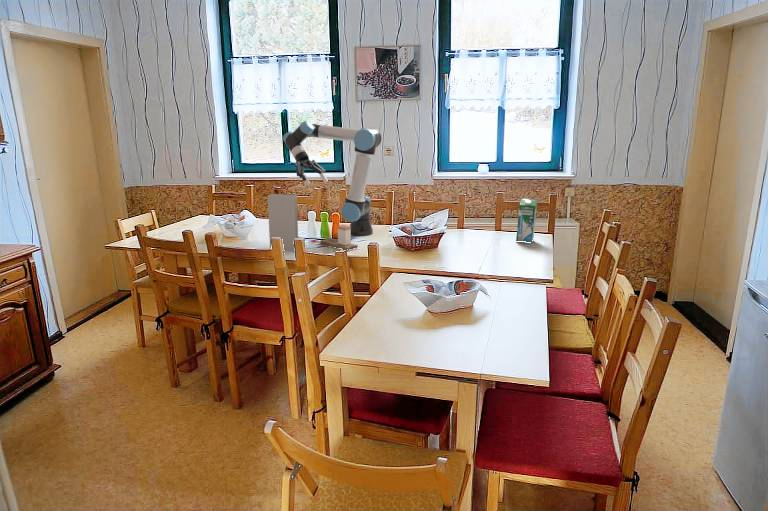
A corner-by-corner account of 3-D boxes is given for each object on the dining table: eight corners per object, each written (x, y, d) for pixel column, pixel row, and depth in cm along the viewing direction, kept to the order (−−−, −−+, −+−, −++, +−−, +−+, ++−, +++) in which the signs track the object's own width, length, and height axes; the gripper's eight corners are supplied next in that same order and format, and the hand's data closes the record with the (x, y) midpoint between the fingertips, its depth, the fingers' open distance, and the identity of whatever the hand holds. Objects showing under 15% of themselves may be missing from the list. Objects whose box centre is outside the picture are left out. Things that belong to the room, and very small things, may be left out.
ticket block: (330, 241, 296) (330, 238, 295) (357, 248, 282) (357, 244, 281) (320, 244, 290) (320, 240, 289) (347, 251, 276) (347, 247, 276)
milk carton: (515, 242, 302) (519, 200, 295) (518, 238, 310) (521, 198, 303) (531, 244, 299) (535, 201, 292) (533, 240, 307) (537, 199, 300)
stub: (343, 242, 286) (342, 224, 283) (350, 244, 282) (350, 226, 279) (337, 243, 283) (337, 225, 280) (345, 245, 279) (345, 227, 276)
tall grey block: (298, 249, 279) (296, 194, 270) (295, 251, 273) (294, 196, 265) (273, 248, 280) (270, 193, 272) (270, 250, 275) (267, 195, 266)
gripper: (313, 158, 310) (330, 185, 304) (280, 160, 291) (298, 189, 286) (319, 149, 305) (336, 177, 300) (286, 151, 287) (304, 181, 281)
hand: (318, 183), depth 293 cm, fingers open, 13 cm apart
